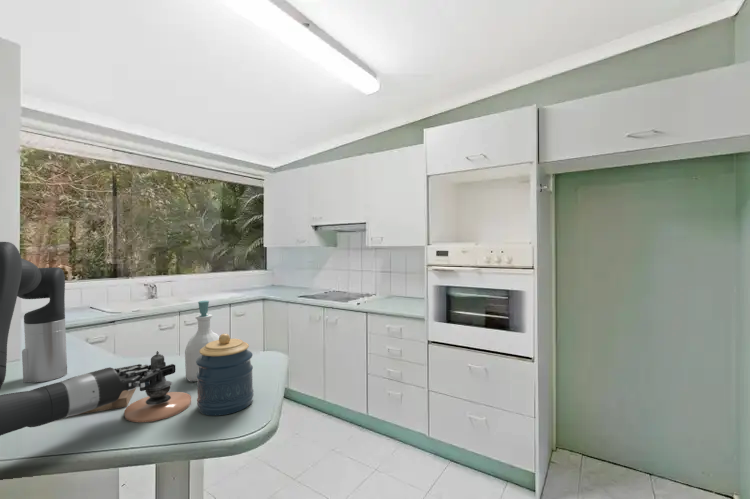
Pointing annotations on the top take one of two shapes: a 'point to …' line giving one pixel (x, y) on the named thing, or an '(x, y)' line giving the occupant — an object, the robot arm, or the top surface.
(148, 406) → the saucer
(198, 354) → the soap bottle
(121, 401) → the wooden square frame
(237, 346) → the canister
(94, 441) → the top surface
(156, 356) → the salt shaker
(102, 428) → the top surface
